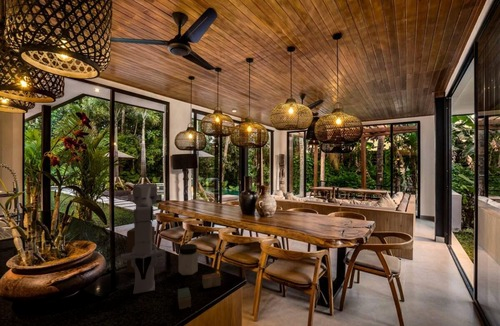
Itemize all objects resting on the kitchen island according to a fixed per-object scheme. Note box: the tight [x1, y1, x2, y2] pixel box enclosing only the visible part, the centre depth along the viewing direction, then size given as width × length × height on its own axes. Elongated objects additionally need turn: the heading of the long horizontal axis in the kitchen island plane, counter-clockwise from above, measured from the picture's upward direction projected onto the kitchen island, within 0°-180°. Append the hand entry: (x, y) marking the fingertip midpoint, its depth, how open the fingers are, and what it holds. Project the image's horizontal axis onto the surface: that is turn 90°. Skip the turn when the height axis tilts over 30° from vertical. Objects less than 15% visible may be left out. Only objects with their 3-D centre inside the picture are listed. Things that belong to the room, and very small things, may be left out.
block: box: [126, 225, 156, 274], centre depth 123 cm, size 10×10×20 cm
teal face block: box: [177, 287, 192, 310], centre depth 93 cm, size 4×4×7 cm
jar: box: [178, 243, 199, 276], centre depth 121 cm, size 9×8×12 cm
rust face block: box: [201, 272, 222, 289], centre depth 107 cm, size 4×4×7 cm
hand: (143, 278), depth 90 cm, fingers closed
